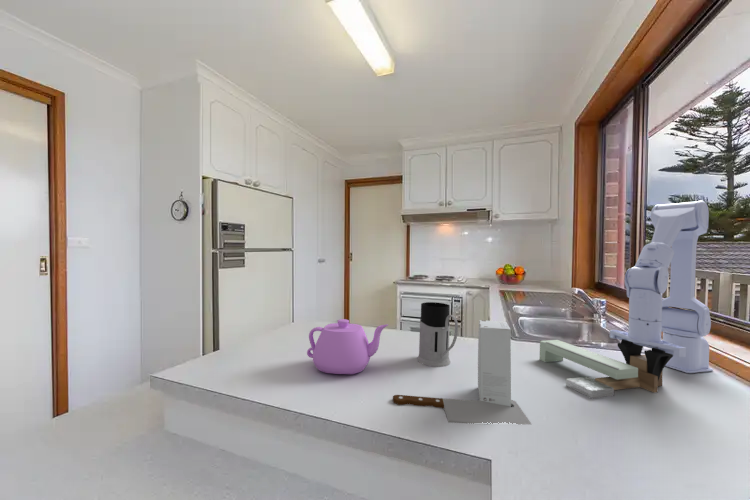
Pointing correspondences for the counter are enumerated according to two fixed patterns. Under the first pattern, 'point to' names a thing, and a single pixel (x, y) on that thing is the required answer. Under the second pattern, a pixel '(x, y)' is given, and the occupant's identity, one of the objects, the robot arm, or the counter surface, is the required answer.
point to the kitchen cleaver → (469, 410)
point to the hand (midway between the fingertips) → (643, 377)
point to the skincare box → (494, 362)
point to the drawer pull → (585, 359)
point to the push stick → (642, 380)
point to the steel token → (590, 387)
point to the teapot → (343, 347)
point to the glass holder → (435, 334)
